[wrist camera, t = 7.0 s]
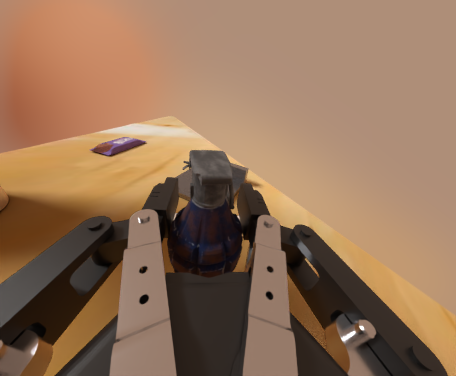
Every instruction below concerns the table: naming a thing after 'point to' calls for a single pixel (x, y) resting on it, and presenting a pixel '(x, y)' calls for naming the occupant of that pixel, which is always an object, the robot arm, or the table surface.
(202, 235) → the hand grenade
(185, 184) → the plate
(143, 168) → the table surface
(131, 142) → the snack package
